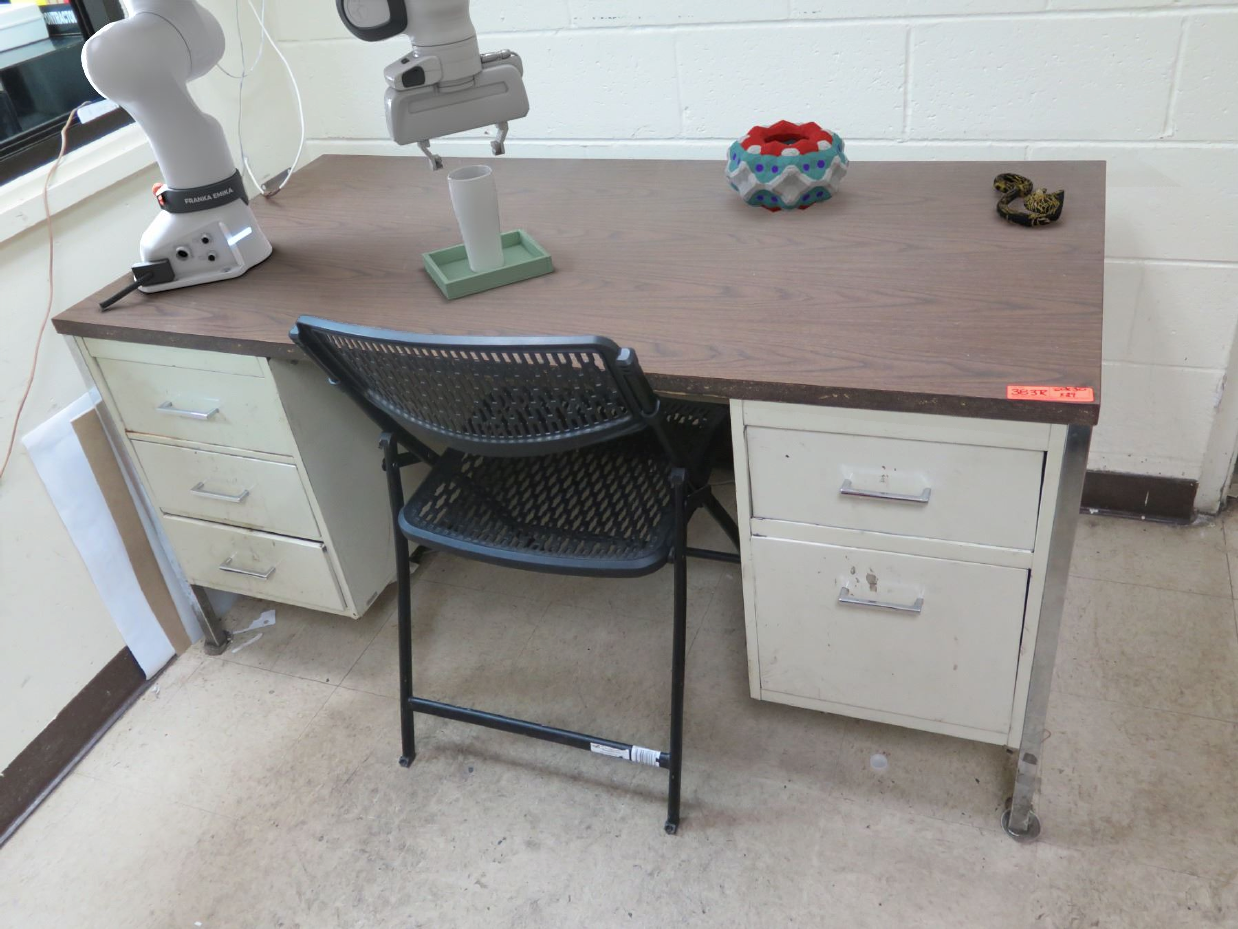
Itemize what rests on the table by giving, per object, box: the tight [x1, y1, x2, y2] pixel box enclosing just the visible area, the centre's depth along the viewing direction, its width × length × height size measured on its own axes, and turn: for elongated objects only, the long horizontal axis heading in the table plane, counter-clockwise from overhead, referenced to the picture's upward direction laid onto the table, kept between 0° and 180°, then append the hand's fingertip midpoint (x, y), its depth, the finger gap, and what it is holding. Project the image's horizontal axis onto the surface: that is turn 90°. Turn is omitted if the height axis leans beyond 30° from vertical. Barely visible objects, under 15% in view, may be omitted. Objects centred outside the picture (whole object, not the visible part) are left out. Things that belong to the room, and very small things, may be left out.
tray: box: [421, 228, 554, 301], centre depth 151 cm, size 17×14×3 cm
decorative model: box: [724, 119, 850, 213], centre depth 160 cm, size 19×14×20 cm
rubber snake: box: [993, 172, 1065, 228], centre depth 150 cm, size 18×5×10 cm
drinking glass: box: [446, 164, 504, 273], centre depth 148 cm, size 7×7×15 cm
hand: (468, 161), depth 142 cm, fingers open, 8 cm apart
